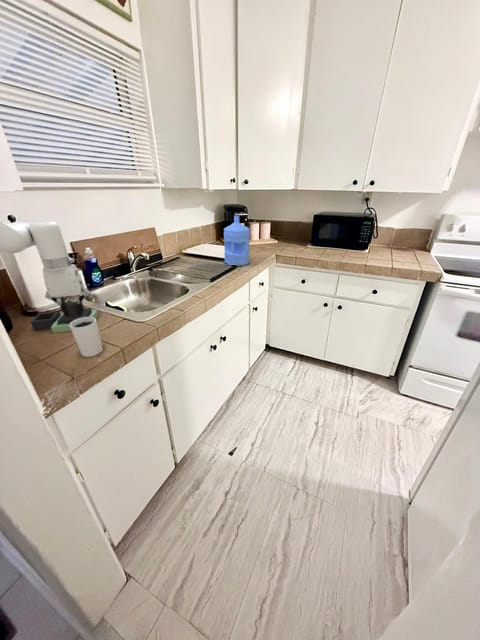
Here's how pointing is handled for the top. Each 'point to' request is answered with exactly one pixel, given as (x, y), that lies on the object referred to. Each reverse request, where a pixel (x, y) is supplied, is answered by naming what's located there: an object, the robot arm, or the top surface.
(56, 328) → the green square tray
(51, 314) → the dark grey square bin
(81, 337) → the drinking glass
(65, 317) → the black stud pad
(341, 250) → the top surface
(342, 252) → the top surface
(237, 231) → the water jug
